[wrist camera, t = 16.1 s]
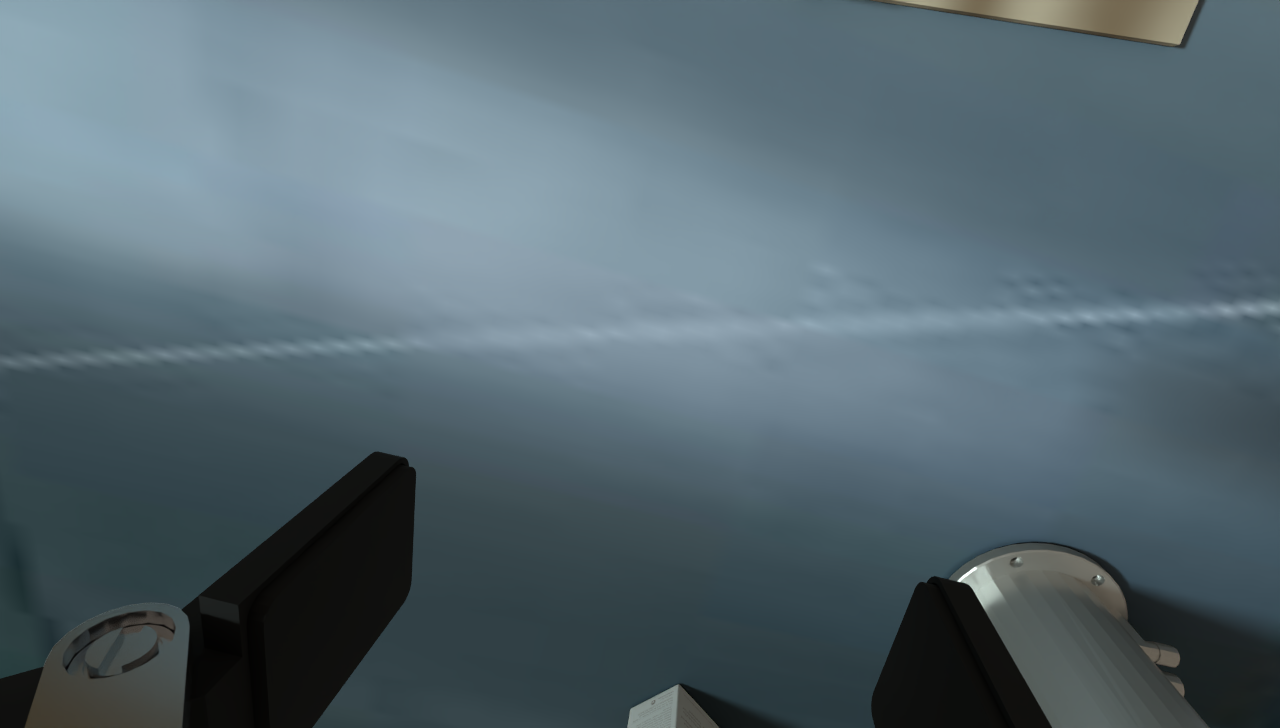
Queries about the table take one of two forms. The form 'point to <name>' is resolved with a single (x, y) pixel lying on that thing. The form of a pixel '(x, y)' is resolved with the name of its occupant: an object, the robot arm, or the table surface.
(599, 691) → the table surface
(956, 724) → the robot arm
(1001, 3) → the wooden tray
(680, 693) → the small box
